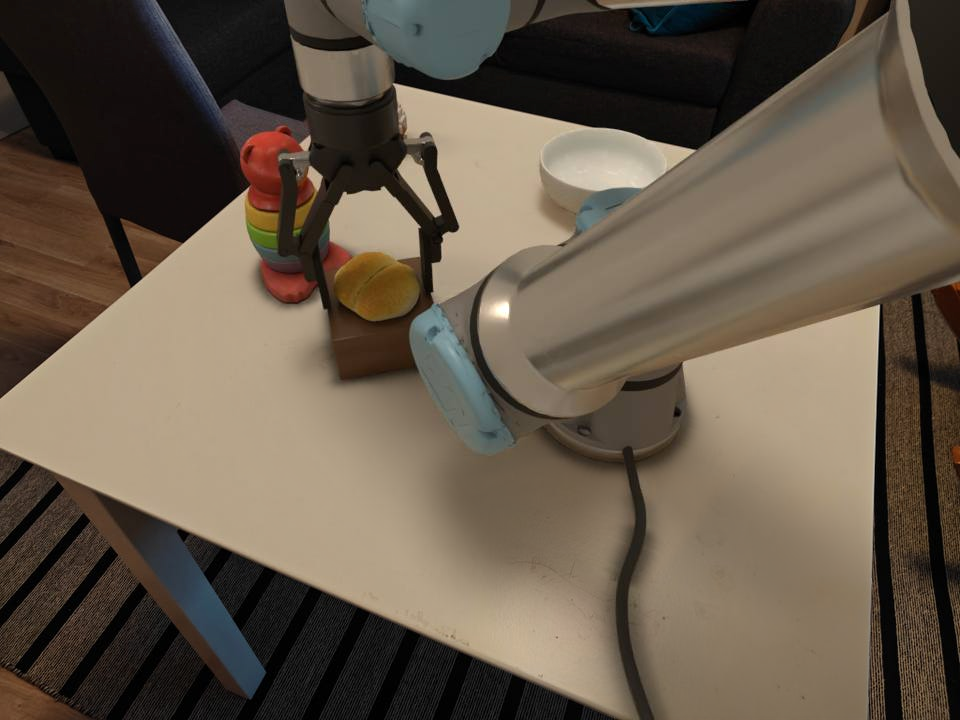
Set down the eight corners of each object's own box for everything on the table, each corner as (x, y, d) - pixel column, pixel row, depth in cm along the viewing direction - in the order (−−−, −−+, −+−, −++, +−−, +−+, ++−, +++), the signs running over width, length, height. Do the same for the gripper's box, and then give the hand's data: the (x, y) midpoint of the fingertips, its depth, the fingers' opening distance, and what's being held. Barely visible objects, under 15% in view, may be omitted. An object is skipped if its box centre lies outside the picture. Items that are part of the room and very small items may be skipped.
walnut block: (441, 361, 71) (440, 322, 66) (340, 379, 69) (331, 340, 64) (422, 295, 78) (419, 256, 73) (330, 310, 76) (321, 271, 71)
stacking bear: (290, 309, 76) (252, 175, 63) (240, 270, 80) (195, 138, 67) (360, 266, 81) (339, 134, 68) (311, 232, 86) (281, 102, 73)
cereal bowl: (647, 171, 97) (658, 127, 91) (665, 239, 86) (678, 193, 80) (534, 168, 97) (538, 124, 92) (537, 236, 86) (542, 190, 80)
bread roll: (384, 336, 65) (379, 307, 62) (323, 297, 68) (316, 268, 65) (438, 293, 69) (437, 264, 66) (378, 259, 73) (374, 230, 70)
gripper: (474, 53, 56) (472, 254, 73) (202, 79, 52) (266, 286, 69) (497, 92, 51) (489, 298, 68) (200, 124, 47) (269, 335, 64)
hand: (377, 292), depth 68 cm, fingers open, 10 cm apart
